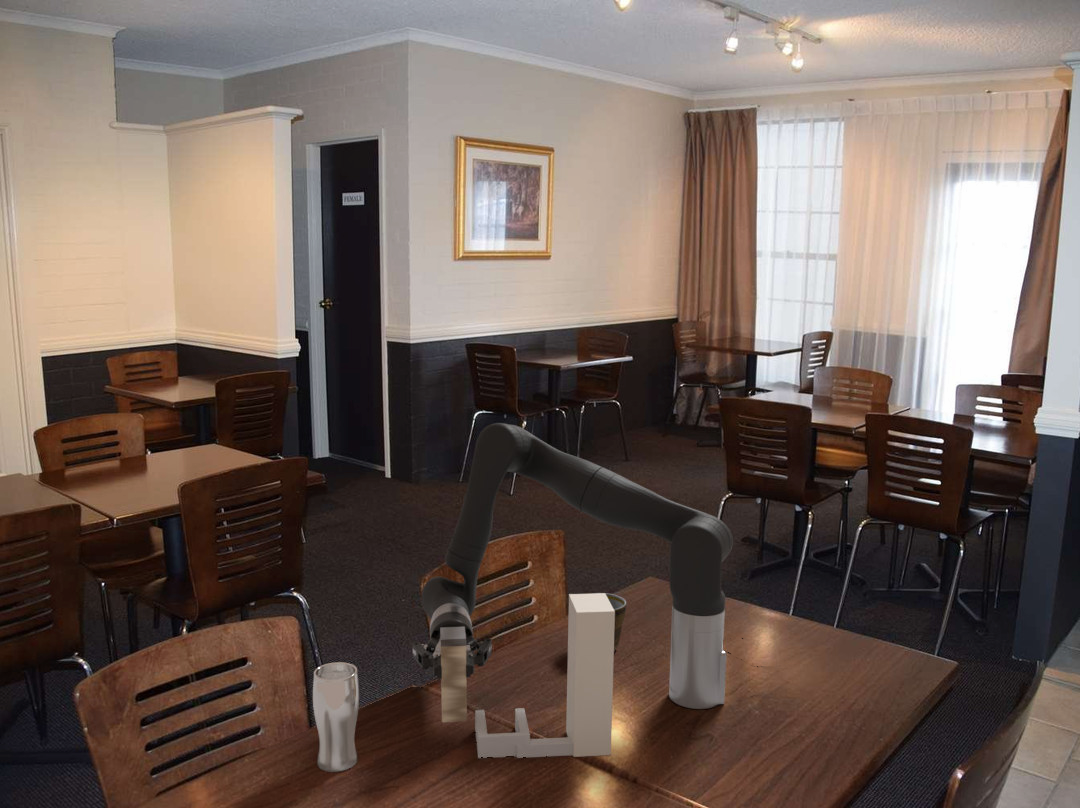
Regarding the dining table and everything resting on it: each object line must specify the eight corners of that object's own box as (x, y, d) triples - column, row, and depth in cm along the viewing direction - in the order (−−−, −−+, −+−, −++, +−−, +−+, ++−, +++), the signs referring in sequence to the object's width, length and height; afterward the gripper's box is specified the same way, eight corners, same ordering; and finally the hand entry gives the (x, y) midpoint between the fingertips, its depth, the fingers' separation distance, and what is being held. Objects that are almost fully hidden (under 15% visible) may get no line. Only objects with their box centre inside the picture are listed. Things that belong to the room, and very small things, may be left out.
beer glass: (349, 776, 141) (347, 683, 138) (306, 770, 142) (304, 678, 140) (366, 753, 147) (365, 663, 145) (325, 748, 149) (324, 659, 147)
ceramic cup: (593, 634, 196) (594, 589, 194) (634, 646, 190) (635, 599, 189) (558, 655, 186) (558, 607, 184) (600, 668, 180) (601, 619, 178)
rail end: (465, 706, 155) (464, 626, 153) (466, 721, 150) (466, 638, 148) (441, 707, 154) (440, 627, 152) (442, 722, 149) (440, 639, 147)
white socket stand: (599, 724, 158) (602, 589, 154) (610, 754, 148) (614, 611, 144) (475, 730, 155) (475, 592, 152) (478, 761, 145) (479, 615, 142)
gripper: (410, 612, 163) (408, 652, 147) (490, 608, 165) (498, 648, 148) (411, 652, 165) (409, 697, 148) (491, 649, 166) (498, 692, 149)
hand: (454, 672), depth 148 cm, fingers closed on rail end, 4 cm apart
